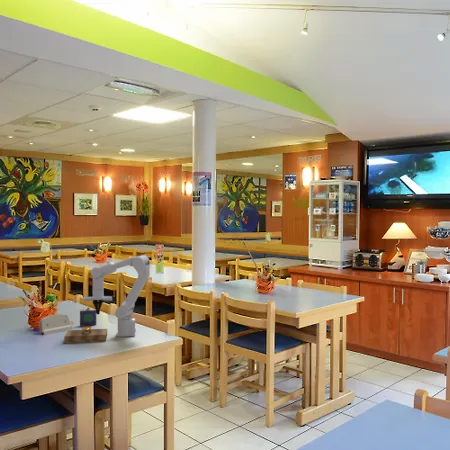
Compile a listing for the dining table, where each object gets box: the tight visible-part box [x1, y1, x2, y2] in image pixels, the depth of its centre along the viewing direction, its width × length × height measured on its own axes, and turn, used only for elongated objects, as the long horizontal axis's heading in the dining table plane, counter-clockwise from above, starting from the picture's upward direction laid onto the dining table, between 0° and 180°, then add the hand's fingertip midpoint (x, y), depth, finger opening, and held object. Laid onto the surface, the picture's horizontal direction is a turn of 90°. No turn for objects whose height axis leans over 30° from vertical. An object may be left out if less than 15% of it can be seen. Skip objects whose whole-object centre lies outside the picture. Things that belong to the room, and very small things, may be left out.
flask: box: [79, 306, 97, 327], centre depth 262 cm, size 9×3×11 cm, turn 112°
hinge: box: [39, 313, 73, 336], centre depth 250 cm, size 17×5×10 cm, turn 137°
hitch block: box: [63, 328, 108, 344], centre depth 235 cm, size 20×12×4 cm, turn 101°
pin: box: [81, 326, 92, 334], centre depth 234 cm, size 4×4×6 cm
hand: (98, 314), depth 246 cm, fingers closed
